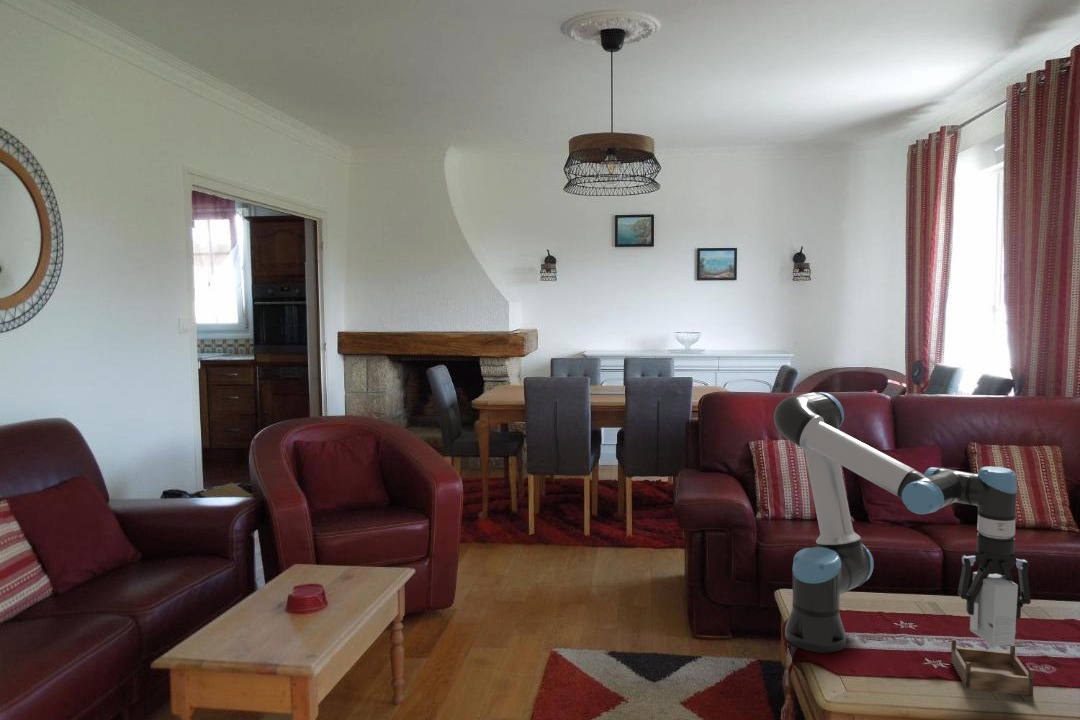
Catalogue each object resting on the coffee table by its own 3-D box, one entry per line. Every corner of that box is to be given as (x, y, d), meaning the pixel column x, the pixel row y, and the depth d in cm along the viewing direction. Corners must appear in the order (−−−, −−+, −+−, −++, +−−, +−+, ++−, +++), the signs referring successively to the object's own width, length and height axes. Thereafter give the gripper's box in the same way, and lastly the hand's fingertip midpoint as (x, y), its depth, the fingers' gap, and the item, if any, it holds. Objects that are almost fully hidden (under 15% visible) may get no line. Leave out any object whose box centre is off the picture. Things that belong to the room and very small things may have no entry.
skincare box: (969, 631, 177) (969, 571, 176) (992, 629, 178) (993, 569, 176) (993, 647, 169) (993, 584, 168) (1018, 645, 169) (1018, 582, 168)
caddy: (965, 688, 170) (966, 663, 170) (950, 661, 182) (951, 638, 182) (1032, 695, 166) (1034, 670, 166) (1013, 668, 179) (1014, 644, 178)
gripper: (952, 536, 170) (949, 632, 172) (1051, 542, 165) (1047, 640, 167) (943, 526, 177) (941, 618, 179) (1038, 532, 172) (1035, 626, 174)
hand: (992, 629), depth 173 cm, fingers closed on skincare box, 7 cm apart
